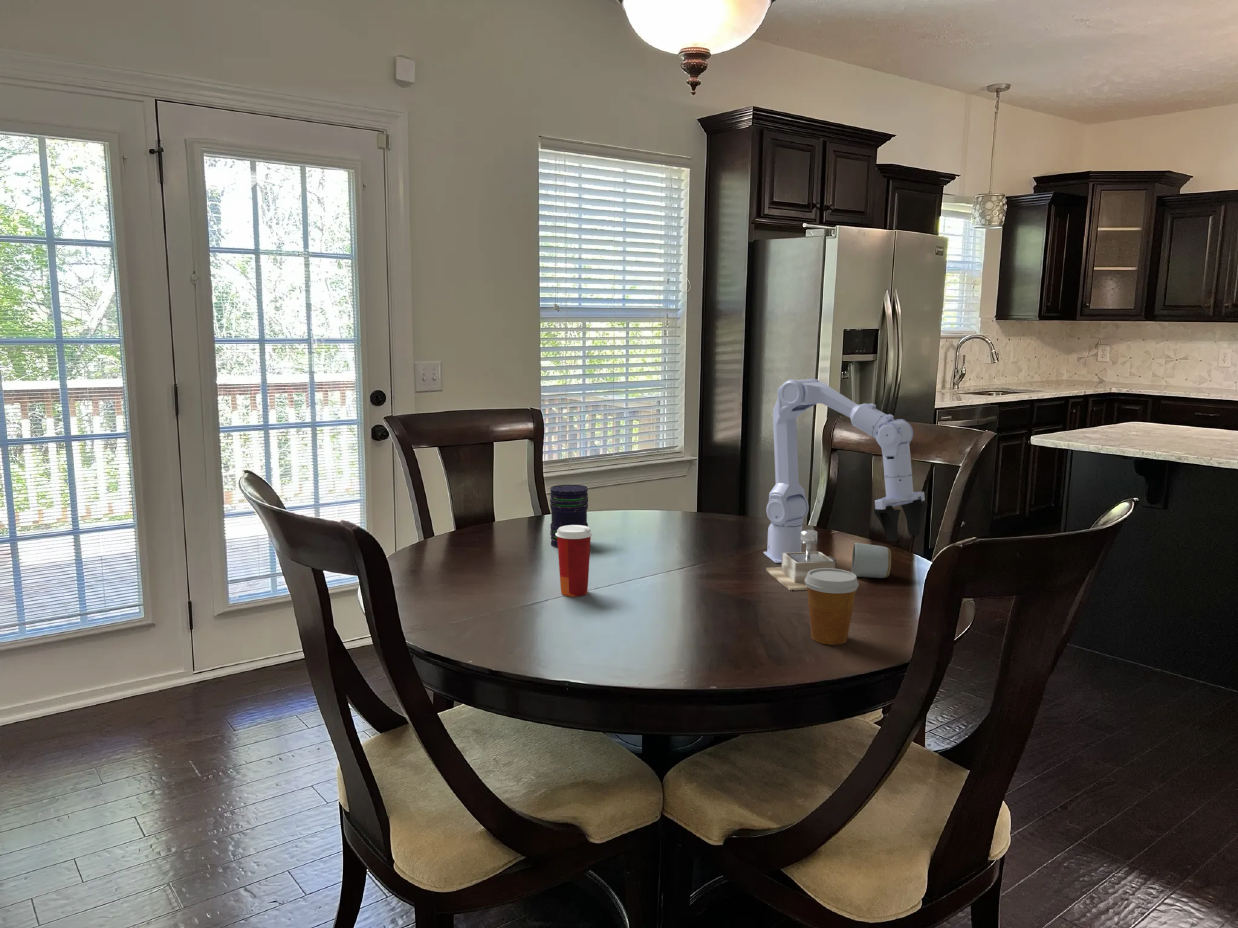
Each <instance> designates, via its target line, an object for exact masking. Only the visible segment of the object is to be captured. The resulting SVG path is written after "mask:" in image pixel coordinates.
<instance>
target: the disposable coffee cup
mask: <svg viewBox="0 0 1238 928" xmlns="http://www.w3.org/2000/svg"><path fill="white" fill-rule="evenodd" d="M857 578H858V577H857V576H856V575H855V574H854V573H852V571H848V570H845V569H840V568H835V569H833V568H820V569H813V570H810V571H809V572H808V573H807V577H806V578H805V583H806V586H807V590H806V591H807V602H808V614H809V625H810V626H809V627H810V637H811V639H812V641H814V642H816V643H819V644H824V645H832V646H833V645H843V644H845V643H847V641H848V637H849V630H850V625H851V621H852V620H851V619H852V613H853V608H854V604H855V603H854V602H855V597H856V592H857V590H858V588H859V585H860V583H859V581H858V579H857Z"/></svg>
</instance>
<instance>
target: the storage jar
mask: <svg viewBox="0 0 1238 928" xmlns="http://www.w3.org/2000/svg"><path fill="white" fill-rule="evenodd" d="M588 493H589V492H588V486H586V485H583V484H582V485H581V484H557V485H553V486H550V497H549V507H550V510H551V517H550V518H551V522H550V527H549V528H550V530H549V531H550V532H549V535H550V540H551V541H550V546H551V547H553V548H556V549H558V541H557V536H556V535H555V534H556V533H557V530H558V528H559V527H562V526H567V525H582V526H587V527H589V524H588V508H589V495H588Z"/></svg>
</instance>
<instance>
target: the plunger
mask: <svg viewBox="0 0 1238 928" xmlns="http://www.w3.org/2000/svg"><path fill="white" fill-rule="evenodd" d="M817 543H818V530H817V531H816V530H815V529H814V530H813V529H802V531H801V544H805V545H806V547H805V552H806V554H789V556H790V557H791V558H792V559H794V560H795V561H796V562H824V561H827V560H826V559H824V558H823V557H821V556H820V555H818V554H817V553H815V554H811V552H812V551H811V550H812V545H814V544H817Z"/></svg>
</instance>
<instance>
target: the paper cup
mask: <svg viewBox="0 0 1238 928" xmlns="http://www.w3.org/2000/svg"><path fill="white" fill-rule="evenodd" d="M555 535H556V536H557V541H558V548H557V555H558V567H559V568H558V569H559V584H560V593H561V595H563V596H565V597H569V598H570V597H572V598H577V597H582V596H583V597H584V596H585V595H587V594H588V590H589V589H588V588H589V587H588V586H589V571H590V560H591V559H590V557H591V556H590V555H591V537H592V536H593V533H592V532H591V528H590V527H589V526H588V527H587V526H582V525H567V526H562V527H559V528H558V530H557V533H556V534H555Z"/></svg>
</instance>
